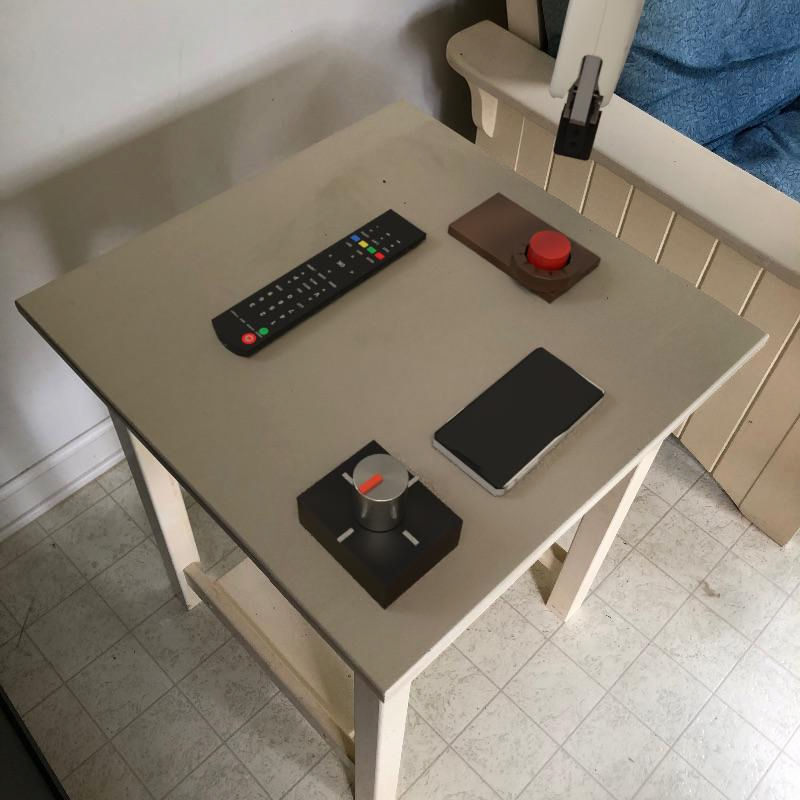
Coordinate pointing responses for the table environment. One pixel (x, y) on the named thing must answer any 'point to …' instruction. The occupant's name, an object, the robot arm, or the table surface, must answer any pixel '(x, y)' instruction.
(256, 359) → the table surface
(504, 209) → the switch block
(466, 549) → the table surface
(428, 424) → the table surface
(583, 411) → the smartphone
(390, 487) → the dimmer knob
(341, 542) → the dimmer panel
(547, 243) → the light button
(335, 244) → the remote control
